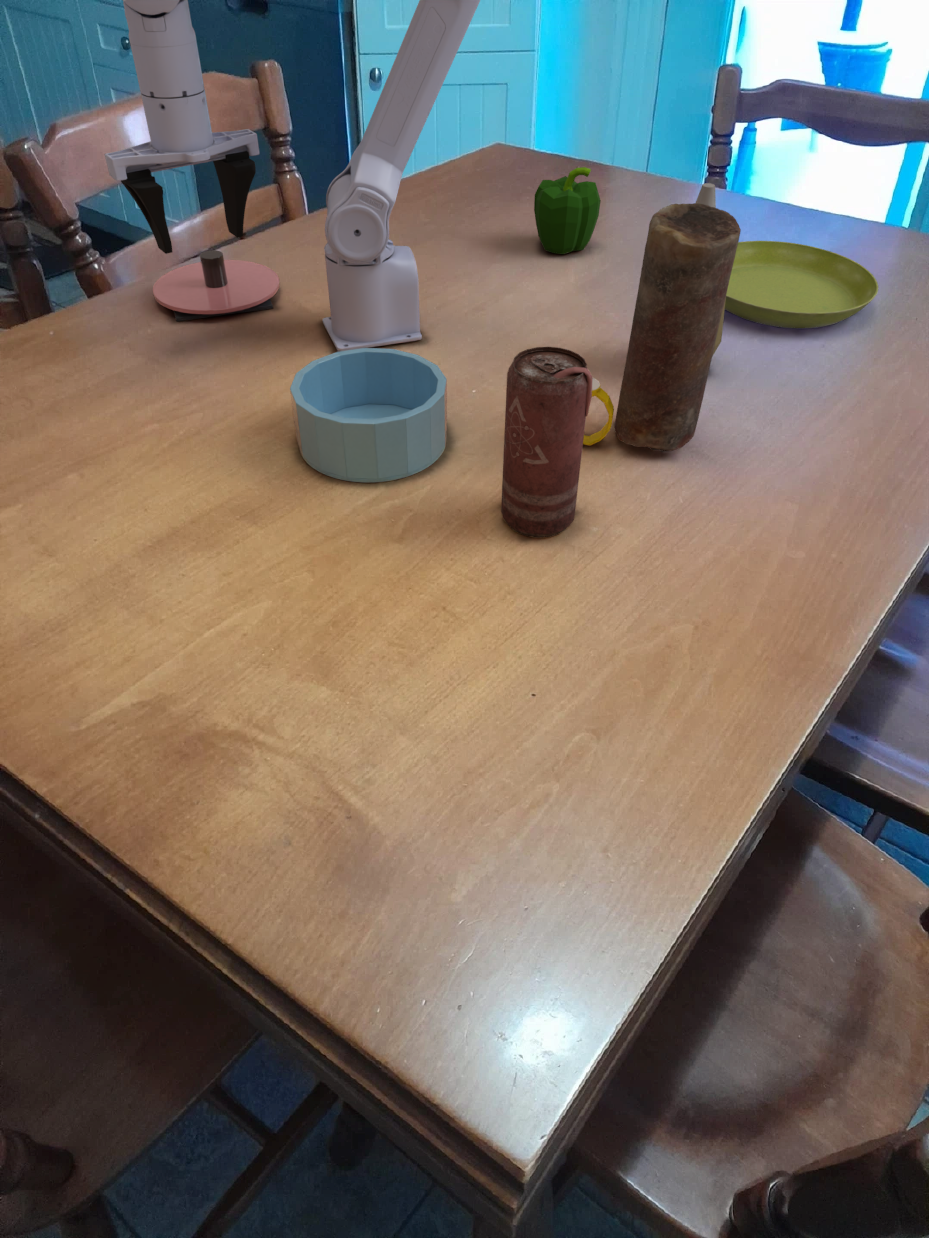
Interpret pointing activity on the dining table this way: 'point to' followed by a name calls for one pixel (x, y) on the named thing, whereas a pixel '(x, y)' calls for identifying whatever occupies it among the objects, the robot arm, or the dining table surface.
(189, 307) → the lid
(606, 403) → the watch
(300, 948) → the dining table surface
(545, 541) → the dining table surface
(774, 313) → the saucer
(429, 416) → the bowl
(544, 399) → the can
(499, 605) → the dining table surface
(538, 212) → the bell pepper
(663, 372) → the candle
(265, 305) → the mat
